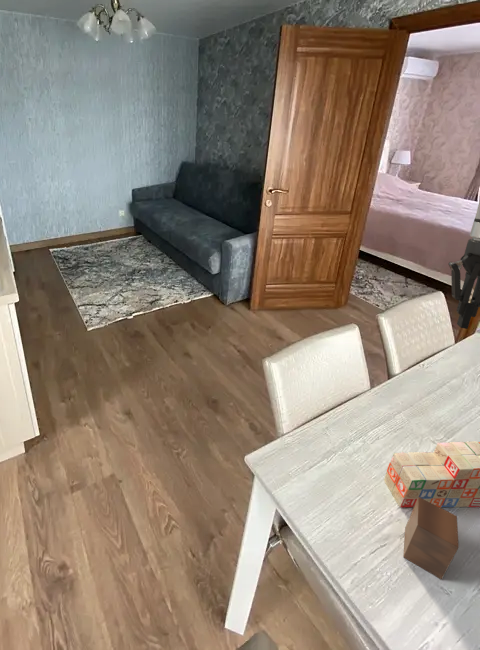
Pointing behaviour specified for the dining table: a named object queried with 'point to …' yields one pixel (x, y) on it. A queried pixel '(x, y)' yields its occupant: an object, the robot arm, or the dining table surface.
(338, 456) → the dining table surface
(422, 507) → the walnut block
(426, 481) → the stack of blocks
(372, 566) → the dining table surface
